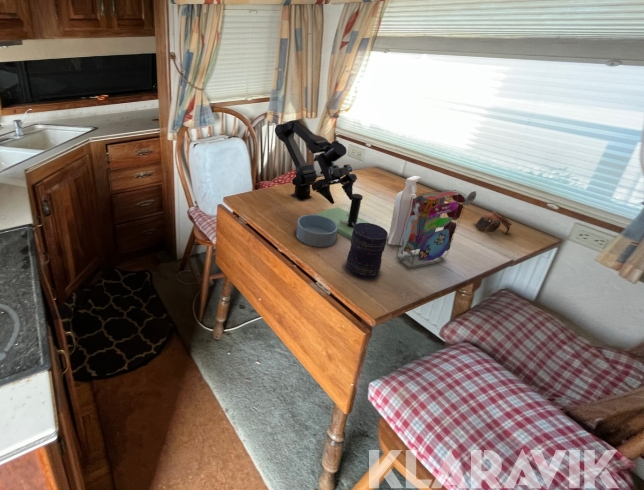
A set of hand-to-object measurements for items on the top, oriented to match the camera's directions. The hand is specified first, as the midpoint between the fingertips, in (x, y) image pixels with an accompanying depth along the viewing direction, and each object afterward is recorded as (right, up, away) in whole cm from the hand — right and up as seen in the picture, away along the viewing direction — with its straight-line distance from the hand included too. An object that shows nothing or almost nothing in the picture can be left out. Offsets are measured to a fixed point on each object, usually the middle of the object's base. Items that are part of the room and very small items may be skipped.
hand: (342, 201), depth 142 cm
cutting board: (+1, -9, +1) cm, 9 cm away
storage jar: (-4, -21, -25) cm, 33 cm away
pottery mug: (+56, -11, -4) cm, 57 cm away
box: (+22, -18, -19) cm, 34 cm away
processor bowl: (-13, -13, -7) cm, 19 cm away
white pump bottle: (+15, -14, -10) cm, 23 cm away
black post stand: (+2, -9, -3) cm, 10 cm away
